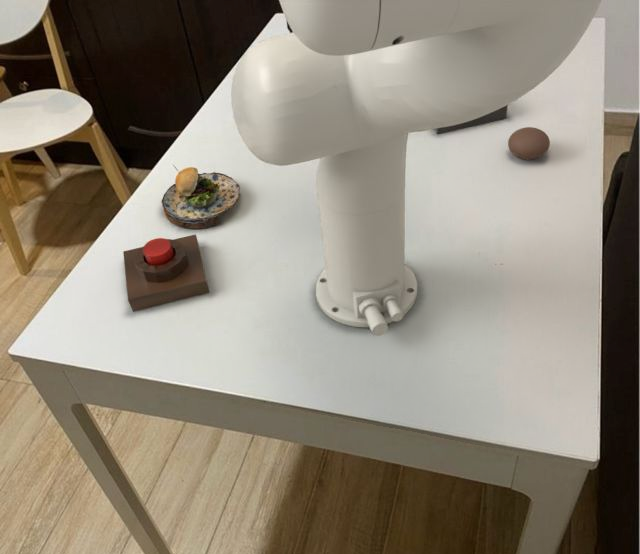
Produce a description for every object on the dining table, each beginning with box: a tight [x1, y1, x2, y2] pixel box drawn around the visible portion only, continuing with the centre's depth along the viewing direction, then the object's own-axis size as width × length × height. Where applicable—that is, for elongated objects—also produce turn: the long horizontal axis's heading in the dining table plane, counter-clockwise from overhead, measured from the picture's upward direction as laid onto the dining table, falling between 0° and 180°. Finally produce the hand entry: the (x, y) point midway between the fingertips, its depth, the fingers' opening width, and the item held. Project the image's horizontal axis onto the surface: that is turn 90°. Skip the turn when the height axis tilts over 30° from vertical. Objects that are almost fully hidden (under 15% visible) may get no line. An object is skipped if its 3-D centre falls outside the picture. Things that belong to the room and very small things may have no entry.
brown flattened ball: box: [507, 126, 551, 161], centre depth 98 cm, size 6×6×4 cm
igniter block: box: [122, 234, 210, 313], centre depth 86 cm, size 10×10×4 cm
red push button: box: [142, 237, 174, 266], centre depth 84 cm, size 4×4×2 cm
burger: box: [161, 164, 241, 229], centre depth 96 cm, size 12×12×8 cm
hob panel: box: [433, 104, 509, 135], centre depth 109 cm, size 10×12×3 cm
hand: (302, 30), depth 77 cm, fingers closed
